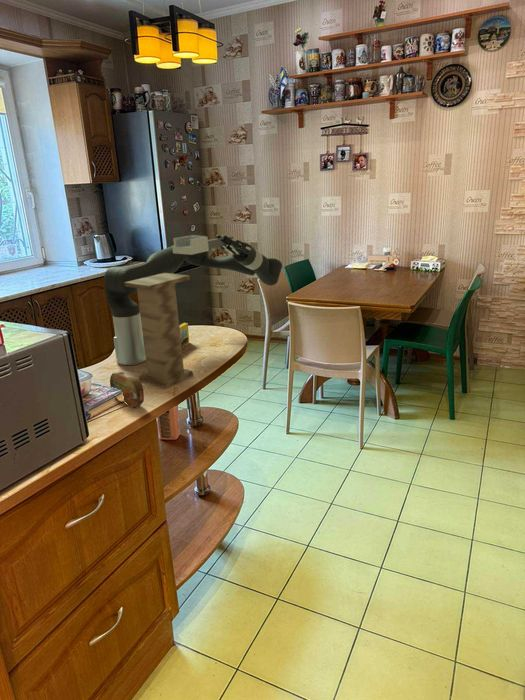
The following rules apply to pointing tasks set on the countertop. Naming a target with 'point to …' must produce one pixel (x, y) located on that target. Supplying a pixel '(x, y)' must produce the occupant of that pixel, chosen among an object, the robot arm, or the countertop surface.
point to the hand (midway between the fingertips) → (219, 237)
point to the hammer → (196, 244)
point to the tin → (128, 388)
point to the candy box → (184, 334)
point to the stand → (161, 329)
